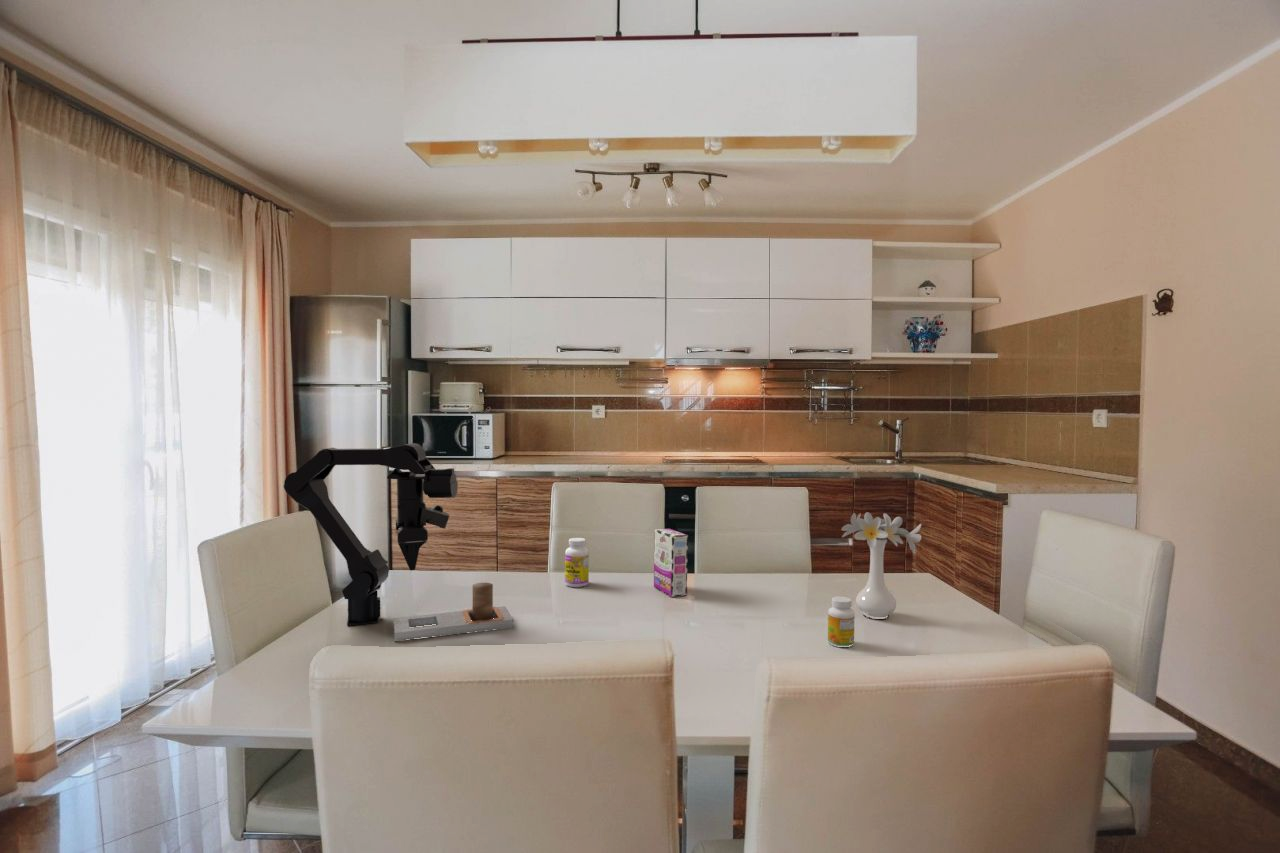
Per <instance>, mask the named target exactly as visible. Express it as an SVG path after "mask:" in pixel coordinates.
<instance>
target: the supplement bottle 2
mask: <svg viewBox="0 0 1280 853" xmlns="http://www.w3.org/2000/svg"><path fill="white" fill-rule="evenodd" d="M831 605H832V606H831V607H829V608H828V612H827V614H828V615H827V616H828V617H827V643H828V642H829V643H830V644H832V645H836V646H849V645H852V644H854V643H855V612H854V610H853V609H852V608H851V607H852V599H851V598H849V597H846V596H833V597H831ZM829 643H828V644H829ZM830 644H829V645H830ZM832 645H831V646H832ZM854 645H855V644H854Z"/></svg>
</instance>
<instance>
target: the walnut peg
mask: <svg viewBox="0 0 1280 853" xmlns="http://www.w3.org/2000/svg"><path fill="white" fill-rule="evenodd" d="M493 591H494V586H493V583H491V582H478V583H474V584H473V585H472V604H471V605H472V608H471V609H472V621H476V620H485V619H493V607H494V606H493V605H494V604H493V603H494V602H493V601H494V595H493V594H494V592H493Z"/></svg>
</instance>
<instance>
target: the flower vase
mask: <svg viewBox="0 0 1280 853" xmlns="http://www.w3.org/2000/svg"><path fill="white" fill-rule="evenodd" d="M861 514H862V513H859V514H858V515H857V516H856V513H855V512H853V514H852V515H851V518H850V524H849V523H848V524H845V525H843V526H842V527H841V531H843V532H844V533H843V534H842V536H841V538H845V537H846V536H848V535H850V534H852V533H855V532H856V533H855V534H854V536H853V537H854V539H855V540H856V541H867V543H866V544H867V545H868V547H869V552H870V553H869V554H870V560H869V561H870V562H869V572H868V573H869V574H868V579H867V582H866V583H865V586H864V587H863V588H862V589H861V590H860V591H859V592H858V593H857V595H856V598H855V604H856V606H857V608H858V609H859V610H860V611H863V613H864V614H866V615H869V616H873V617H886V616H888V614H889V615H890V614H893V612H894V611H895V610H896V608H897V601H896V600H897V599H896V598H895V597H894V595H893V594H892V593H891V592H890V591H889V589H888V586H887V585H886V582H885V575H884V554H885V547H886V544H887V543H888V540H889V541H890V542H892V544H894V546H896V547H898V545H899V544H901V545H903V544H904V541H903V539H902V538H901V537H904V538H906V541H907V543H908V546H909V549H910V551H911V552H912V554H913V555H915V554H916V543H920V541H921V540H922V535H921V534H920V533H918V532H919V531H920V530H921V527H922V525H923V524H922V523H920V524H918V526H916V527H915V528H914V529H913V530H912V531H908V530H907V529H906V528H903V527H900V526H902V525H903V518H902V517H901V516H896V517H895V518H894V519H893V520H892V519H891V517H890V516H889V514H887V513H883V514H882V515H883V518H881V517H879V516H877V517H875V518H874V517H873V515H872V514H871V512H867V511H866V512H865V514H864V516H863V518H861ZM857 531H858V532H857ZM900 536H901V537H900ZM898 543H899V544H898Z"/></svg>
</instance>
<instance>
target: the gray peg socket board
mask: <svg viewBox="0 0 1280 853" xmlns="http://www.w3.org/2000/svg"><path fill="white" fill-rule="evenodd" d="M493 618H494V619H485V620H476V621H471V620H472V608H470V609H463V610H458V611H457V610H456V611H450V612H438V613H430V614H429V613H428V614H420V615H412V616H411V615H410V616H403V617H402V616H399V617H394V618H393V636H394V638H395V639H394V642H395V641H400V642H402V641H401V640H406V639H414V638H421V637H432V636H440V635H449V634H458V633H467V632H475V631H484V632H486V631H485V630H492V631H494V630H493V629H500V630H503V629H502V628H509V629H514V619H513V616H512V615H511V613H510V611H508V609H507V607H506V606H505V605H504V606H498V607H497V606H493ZM432 624H436V625H432ZM424 625H432V626H424ZM416 626H423V627H416ZM409 627H414V628H409ZM475 633H476V632H475ZM467 634H468V633H467Z"/></svg>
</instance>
